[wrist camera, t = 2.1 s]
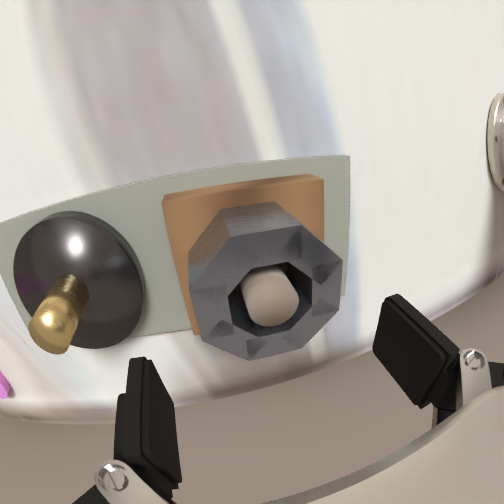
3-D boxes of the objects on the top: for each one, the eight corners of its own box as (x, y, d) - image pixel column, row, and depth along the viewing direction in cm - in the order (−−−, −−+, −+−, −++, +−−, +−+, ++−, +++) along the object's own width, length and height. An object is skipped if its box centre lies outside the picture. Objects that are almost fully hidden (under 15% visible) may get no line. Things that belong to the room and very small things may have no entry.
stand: (309, 173, 17) (365, 198, 11) (311, 293, 21) (349, 347, 15) (164, 194, 16) (150, 231, 10) (192, 317, 20) (198, 384, 14)
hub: (123, 195, 15) (91, 229, 10) (161, 327, 19) (158, 391, 14) (5, 229, 14) (-42, 267, 8) (55, 340, 18) (33, 393, 13)
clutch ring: (310, 196, 15) (344, 218, 12) (310, 300, 19) (335, 338, 15) (181, 216, 14) (178, 246, 11) (204, 322, 18) (210, 367, 14)
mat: (345, 155, 17) (349, 156, 17) (341, 291, 22) (344, 294, 22) (-12, 227, 13) (-16, 230, 13) (39, 341, 18) (37, 345, 18)
